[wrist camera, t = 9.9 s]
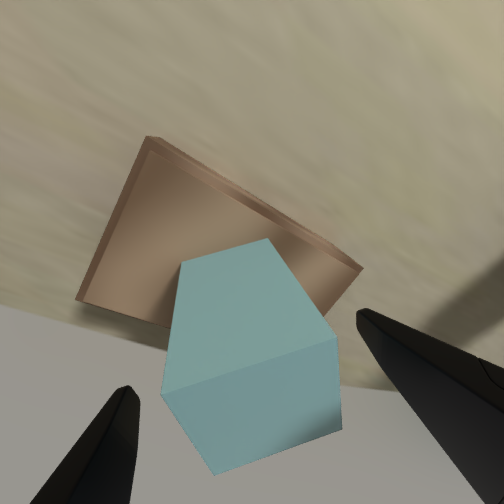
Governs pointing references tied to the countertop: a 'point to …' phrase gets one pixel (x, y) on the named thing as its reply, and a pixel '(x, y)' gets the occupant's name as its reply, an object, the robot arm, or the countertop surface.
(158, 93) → the countertop surface
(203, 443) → the teal block
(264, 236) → the walnut block
